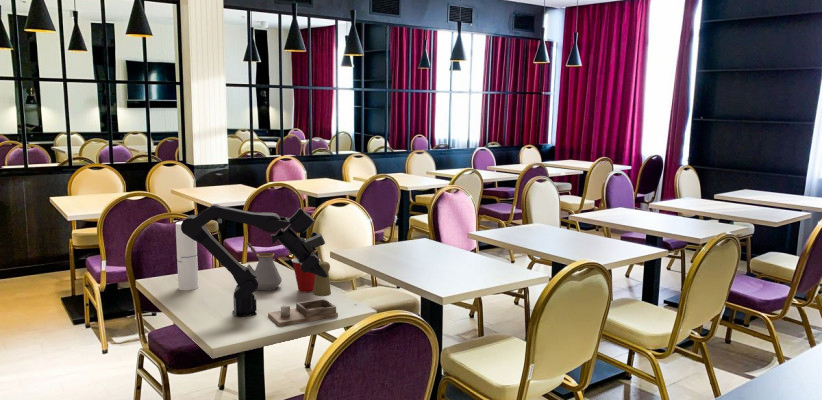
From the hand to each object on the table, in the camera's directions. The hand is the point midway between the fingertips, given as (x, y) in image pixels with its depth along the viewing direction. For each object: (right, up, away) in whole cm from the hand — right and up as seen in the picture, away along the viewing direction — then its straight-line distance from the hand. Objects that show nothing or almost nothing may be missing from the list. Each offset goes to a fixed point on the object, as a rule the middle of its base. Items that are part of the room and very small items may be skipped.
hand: (326, 274), depth 212 cm
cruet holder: (-7, -13, -5) cm, 16 cm away
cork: (-2, -7, +1) cm, 7 cm away
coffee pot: (-30, -8, +31) cm, 43 cm away
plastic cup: (-11, -9, +25) cm, 28 cm away
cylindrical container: (-56, -8, +26) cm, 62 cm away
